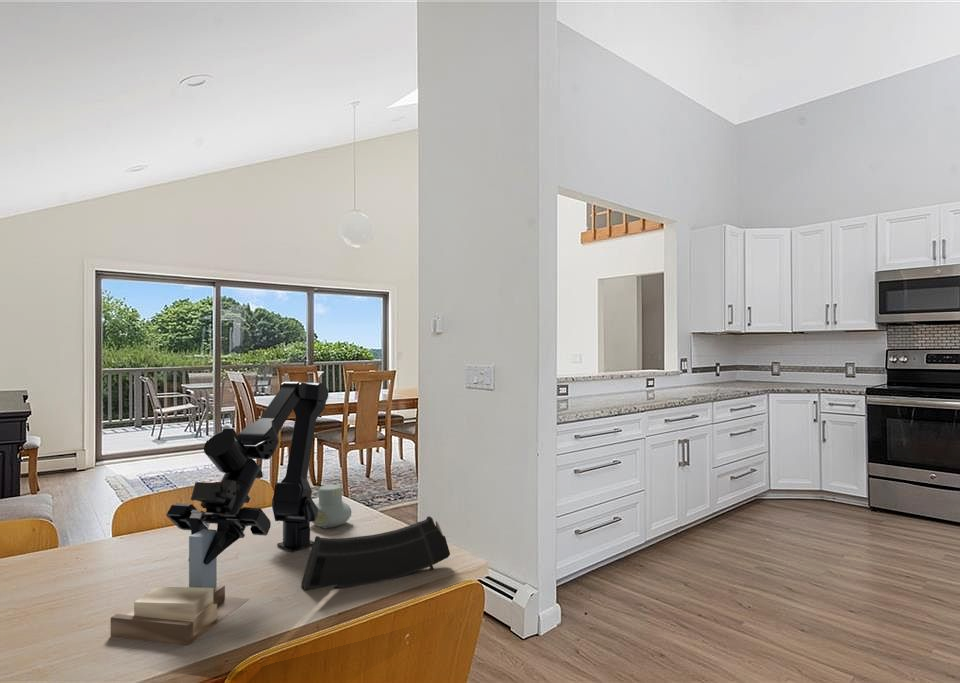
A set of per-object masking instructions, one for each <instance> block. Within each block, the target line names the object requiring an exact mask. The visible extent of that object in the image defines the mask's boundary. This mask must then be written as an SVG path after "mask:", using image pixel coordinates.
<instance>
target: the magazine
mask: <svg viewBox="0 0 960 683" xmlns="http://www.w3.org/2000/svg"><path fill="white" fill-rule="evenodd" d="M313 542H314V543H313V545H312V546H311V548H310V552H309V554H308V559H307V561H306V566H305V569H304V572H303V576H302V580H301V586H300V587H301V588H302V590H304V591H307V590H311V589H313V590H314V589H323V588H327V587H332V586H333V588H346V587H347V588H348V587H357V586H363V585H369V584H374V583H375V584H376V583H378V582H380V583H381V582H384V581H389V580H394V579H397V578H400V577H404V576H407V575H409V574H414V573H416V572H418V571H421V570H424V569H425V570H426V569H427V568H430V569H431V570H434V569H435V568H434V565H436V564H439V563H440V562H442V561H443V560H446V559H448V558H449V557H450V555H451V553H450V549H449V545H448V542H447V538H446V536H445V535H444V534H443V532H442V528H441V527H440V524H439V522H438V521H437V520H436V521H435V522H434V518H433V517H431V516H430V515H429V516H426V519H424V520H422V521H421V520H420V521H417V522H416V523H413V524H410V525H407V526H404V527H402V528H397V529H394V530H390V531H389V530H388V531H386V532H381V533H376V534H371V535H359V536H351V537H342V538H338V537H337V538H334V537H333V538H329V537H327V538H326V537H320V536H318V535H316V536H315V538H314V540H313Z"/></svg>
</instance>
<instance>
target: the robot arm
mask: <svg viewBox="0 0 960 683" xmlns="http://www.w3.org/2000/svg"><path fill="white" fill-rule="evenodd" d="M328 399H329V390H328V387H327V386H325V384H324V383H323V382H308V381H307V382H304V381H284V382H282V383H280V386H279V390H278V392H277V393H276V394H275V396H274V397H273V398H272V400H271V401H270V403H269V404H268V406H267V408H266V409H265V410H264V411H263V413H262V414H261V416H260V417H259V418H258V419H257V420H256V421H255V422H254V421H253V422H251V423H250V424H248V425H246V426H245V427H244V428H243V429H242V430H241V431H240V432H239V433H238V435H237V432H236V430H235V429H234V428H232V427H224V428H223V429H222V431H221V432H219V433H217V434H214V435H212V437H210V438H209V439H208V440H206V442H205V443H204V445H203V452H204V454H205V455H206V456H207V458H208V459H209V460H210V461H211V463H212V464H213V465H214V466H215V468H217V470H218V471H219V472H220V473H224V475H223V476H222V479H221V480H220V481H219V482H217V481H215V482H204V481H196V482H195V483H194V485H193V490H192V493H191V497H190V501H198V502H201V503H200V506H201V507H202V508H203V509H206V510H205V511H203V510H200V509H199V510H198V509H197V508H196V507H195V506H194V505H193V504H191V503H179V502H178V503H177V502H176V503H173V504H172V505H170V506H169V509H168V511H167V512H166V514H165V516H166V517H167V518H168V519H169V520H170V521H171V522H172V523H173V524H174V525H175V526H176V527H177V528H178V529H180V530H183V531H190V533H191V534H190V535H193V534H195V533H197V532H199V531H201V530H203V529H210V525H211V524H214V525H215V524H216V530H217V532H216V534H215V536H214V539H213V541H212V543H211V545H210V547H209V549H208V551H207V553H206V556H205V558H204V561H203V563H204V564H205V565H208V564H209V563H210V562H211V561H212V560H214V559H215V558H216V557H218V556H219V555H220V554H222V553H223V552H224V551H225V550H227V549H228V548H229V547H230V546H231V545H232V544H234V543H235V542H237V541H238V540H239V539H243V538H245V536H246V534H245V531H246V528H248V527H250V528H249V529H250V531H251V533H252V535H253V536H267V535H268V534H269V532H270V529H271V527H272V526H271V520H270V518H269V517H268V516H267V515H266V513H265V512H264V511H263V509H262V508H261V507H248V506H247V507H243V506H244V505H245V504H249V502H250V500H251V497H250V496H249V494H250V491H251V488H252V487H253V485H254V482H255V480H256V479H262V478H263V477H264V472H263V471H262V466H261V464H258V463H257V461H256V460H269V459H271V458H272V456H274V454H275V451H276V449H277V447H278V445H279V443H280V441H279V436H278V434H279V432H280V430H281V429H282V427H283V426H284V424H286V422H287V419H288V418H289V416H290V415H291V413H292V412H293V413H294V415H295V420H294V425H293V431H292V438H291V444H290V449H289V454H288V460H287V467H286V473H285V477H283V479H282V480H281V481H280V482H276V484H275V485H274V492H273V497H272V499H271V501H272V502H271V507H272V513H273V517H274V518H273V519H274V522H282V541H281V542H278V543H276V546H277V547H278V548H281V549H283V550H284V549H285V550H286V551H290V552H297V551H298V550H303V549H305V548H308V547H312V545H313V543H314V540H311V526H310V525H311V523H312V521H315V520H316V518H317V515H318V508H317V506H316V503H315V502H314V500H313V498H312V492H313V491H312V488H311V484H310V483H309V480H308V473H309V467H310V461H311V454H312V453H311V452H312V448H313V440H314V435H315V428H316V427H315V426H316V421H317V419H318V418H319V416H320V415H321V414H322V413H323V411H325V408H326V404H327V400H328Z"/></svg>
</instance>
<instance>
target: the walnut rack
mask: <svg viewBox="0 0 960 683" xmlns="http://www.w3.org/2000/svg"><path fill="white" fill-rule="evenodd" d="M249 600H250V598H247V597H246V598H245V597H235V596H226V586H225V584H224V585H223V584H219V585H217V587H216V588H214V589H213V604H217V619H216V620H214V621H213V622H212V623H210V624H209V625H208V626H206V627H205V628H204V629H202V630H201V631H199V632H198V633H197V634H195V635H194V636H193V622H190V621H181V620H171V619H161V618H152V617H142V616H132V615H127V614H121V613H116V614H114V615H113V616H112V615H111V617H110V637H113V638H122V639H131V640H139V641H140V640H141V641H150V642H155V643H156V642H157V643H167V644H175V645H183V646H188V645H191V643H193V642H194V641H196V640H197V639H198V638H200V637H201V636H202V635H203V634H205V633H206V632H208V631H209V630H210V629H212V628H213V627H215V625H217V624H218V623H220V622H221V621H222V620H223V619H225V618H226V617H228V616H229V615H230V614H232V613H233V612H234V611H236V610H237V609H238V608H240V607H241V606H242V605H244V604H245V603H246V602H247V601H249Z"/></svg>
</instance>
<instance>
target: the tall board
mask: <svg viewBox="0 0 960 683" xmlns="http://www.w3.org/2000/svg"><path fill="white" fill-rule="evenodd" d="M216 532H217V529H210V528H208V529H203V530H201V531H199V532H197V533H195V534H193V535H191V534H190V535H189V536H188V587H195V588H213V589H215V588H216V587H218V584H217V566H218V565H217V559H218V558H217V557H218V556H217V557H216V558H215V559H214V560H212V561H211V562H210V563H209V564H208V565H205V564H204V563H203V561H204V558H205V556H206V553H207V551H208V549H209V547H210V545H211V543H212V541H213V539H214V536H215V534H216Z"/></svg>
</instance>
